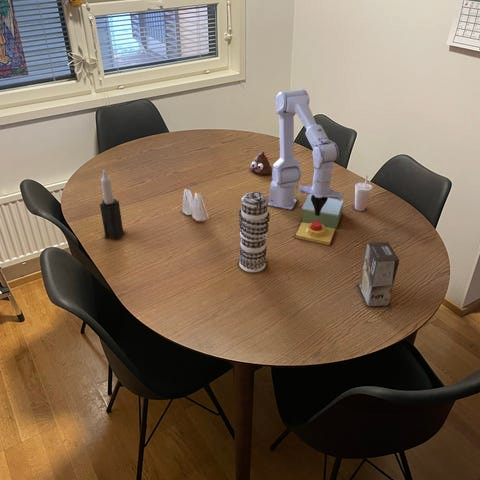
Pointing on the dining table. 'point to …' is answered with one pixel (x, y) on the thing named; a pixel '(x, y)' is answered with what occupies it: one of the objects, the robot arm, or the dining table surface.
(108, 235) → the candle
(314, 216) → the panel
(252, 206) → the plaid banded cylinder
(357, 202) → the smoothie
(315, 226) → the button
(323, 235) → the yellow button base
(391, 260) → the coffee box
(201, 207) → the shaker set
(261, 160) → the cartoon dung pile
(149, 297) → the dining table surface
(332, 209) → the pale blue lid
